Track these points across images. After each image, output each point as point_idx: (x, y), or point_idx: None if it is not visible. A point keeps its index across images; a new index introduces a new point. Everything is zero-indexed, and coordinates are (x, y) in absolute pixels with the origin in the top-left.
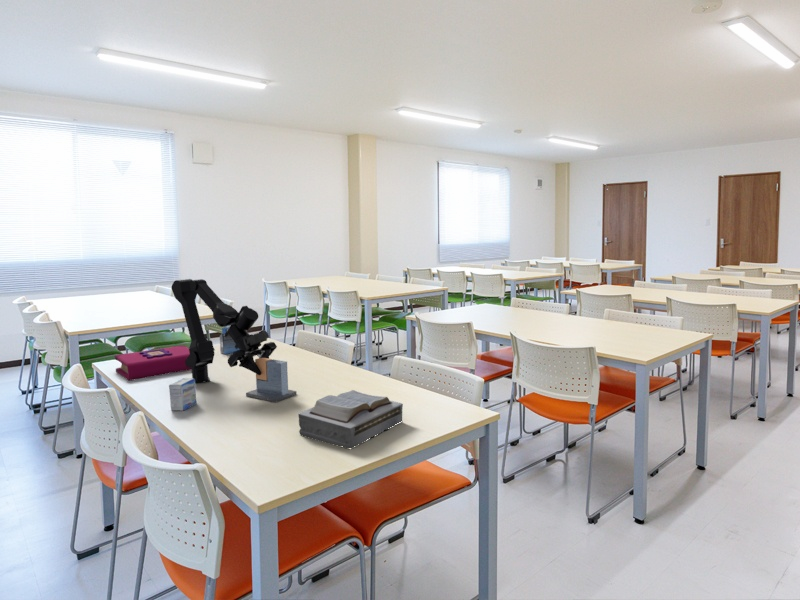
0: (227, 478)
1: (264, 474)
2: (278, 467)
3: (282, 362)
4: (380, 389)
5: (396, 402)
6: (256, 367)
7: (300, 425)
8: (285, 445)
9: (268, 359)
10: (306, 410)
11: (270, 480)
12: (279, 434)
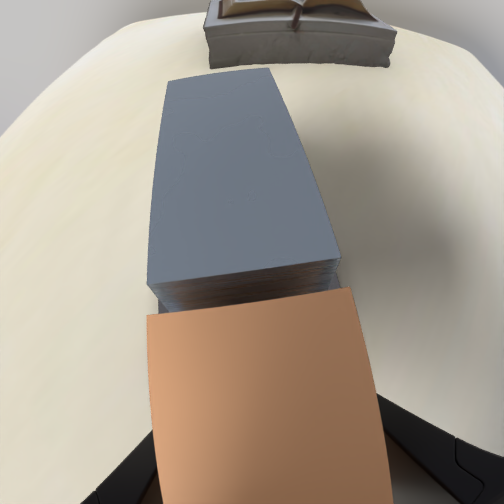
0: (498, 82)
1: (462, 61)
2: (445, 56)
3: (224, 79)
4: (35, 134)
5: (212, 2)
6: (423, 425)
7: (390, 50)
8: (424, 68)
9: (208, 362)
10: (376, 26)
11: (457, 54)
12: (422, 88)
